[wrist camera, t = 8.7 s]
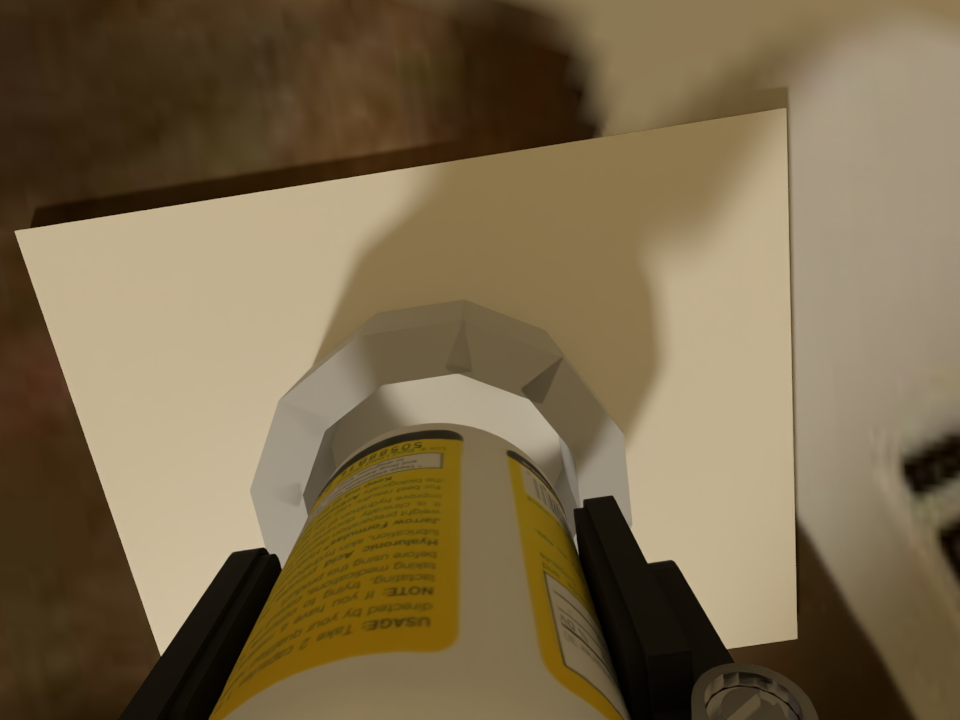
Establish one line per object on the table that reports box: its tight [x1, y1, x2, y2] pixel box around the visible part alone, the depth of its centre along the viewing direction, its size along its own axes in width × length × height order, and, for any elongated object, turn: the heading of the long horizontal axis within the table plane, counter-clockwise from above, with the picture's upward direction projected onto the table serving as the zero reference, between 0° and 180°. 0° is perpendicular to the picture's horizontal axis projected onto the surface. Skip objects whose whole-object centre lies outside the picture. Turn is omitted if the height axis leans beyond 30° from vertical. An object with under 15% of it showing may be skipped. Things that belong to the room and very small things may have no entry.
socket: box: [15, 108, 797, 656], centre depth 16 cm, size 16×20×4 cm
